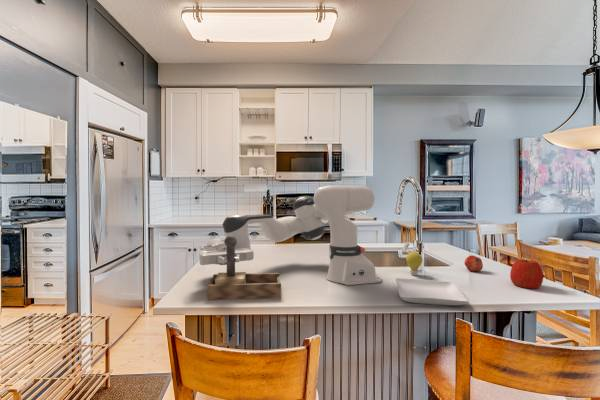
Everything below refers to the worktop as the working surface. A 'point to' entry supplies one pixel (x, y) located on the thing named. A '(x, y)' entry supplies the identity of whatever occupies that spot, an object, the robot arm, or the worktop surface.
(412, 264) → the light bulb
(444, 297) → the salad plate
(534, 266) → the apple
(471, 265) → the pomegranate
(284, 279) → the worktop surface
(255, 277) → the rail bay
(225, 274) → the knobbed upright rod
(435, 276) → the worktop surface
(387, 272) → the worktop surface
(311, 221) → the robot arm
